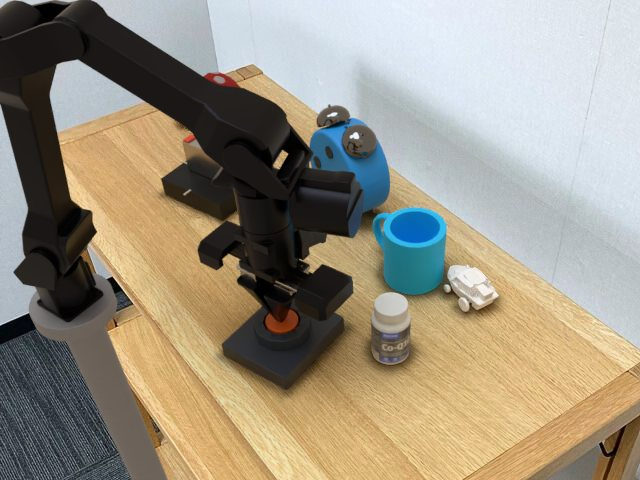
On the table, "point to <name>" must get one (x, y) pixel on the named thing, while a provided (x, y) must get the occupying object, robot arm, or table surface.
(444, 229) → the mug
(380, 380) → the table surface
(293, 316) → the button
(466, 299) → the toy car
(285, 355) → the button box
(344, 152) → the alarm clock
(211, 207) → the base
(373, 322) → the pill bottle
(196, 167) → the tap handle
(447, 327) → the table surface
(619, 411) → the table surface
